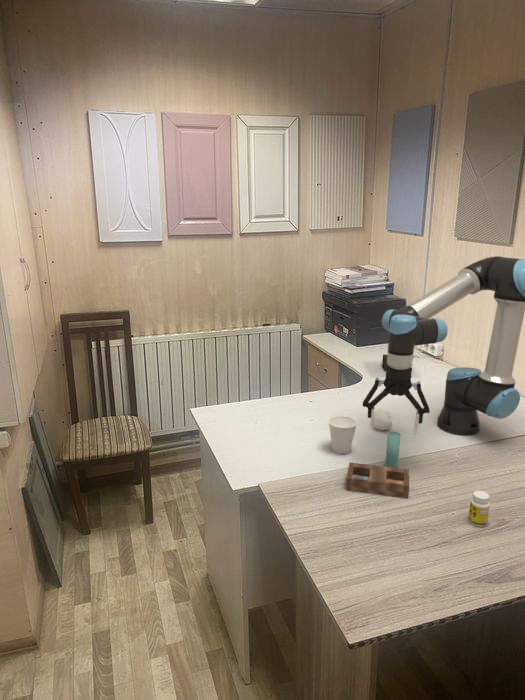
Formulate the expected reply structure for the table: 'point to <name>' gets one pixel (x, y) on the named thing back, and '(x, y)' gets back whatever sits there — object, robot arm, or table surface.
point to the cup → (342, 433)
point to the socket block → (378, 480)
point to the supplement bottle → (479, 508)
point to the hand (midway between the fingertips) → (393, 429)
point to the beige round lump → (382, 420)
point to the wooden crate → (384, 362)
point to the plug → (392, 449)
